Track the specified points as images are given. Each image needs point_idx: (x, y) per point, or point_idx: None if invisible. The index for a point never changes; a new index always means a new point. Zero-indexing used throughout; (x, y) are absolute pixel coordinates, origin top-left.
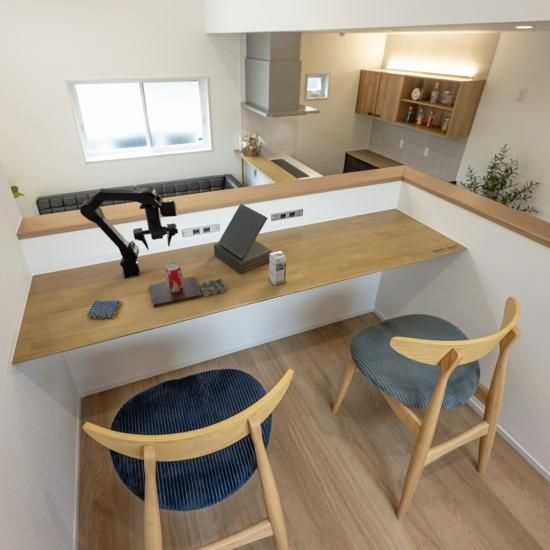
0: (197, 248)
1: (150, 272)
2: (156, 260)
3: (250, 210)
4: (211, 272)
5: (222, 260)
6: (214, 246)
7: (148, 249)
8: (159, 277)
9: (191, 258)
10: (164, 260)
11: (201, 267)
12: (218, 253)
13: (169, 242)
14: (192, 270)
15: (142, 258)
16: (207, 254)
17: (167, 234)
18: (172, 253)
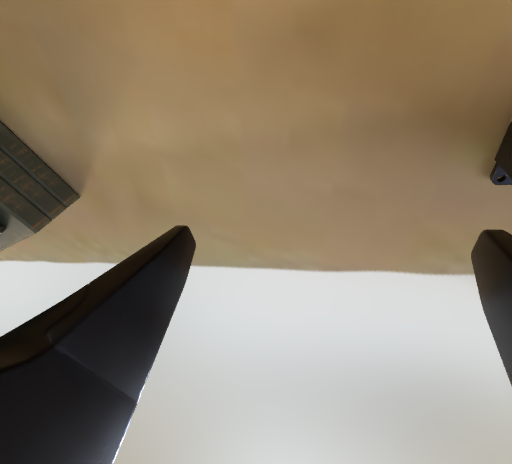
0: None
1: (418, 111)
2: (345, 229)
3: None
4: (6, 11)
5: (16, 138)
6: (36, 221)
7: (491, 233)
8: (367, 7)
9: (173, 198)
10: (304, 218)
11: (94, 96)
12: (26, 179)
13: (127, 263)
14: (134, 70)
15: (414, 263)
16: (112, 208)
17: (107, 408)
18: (264, 256)
